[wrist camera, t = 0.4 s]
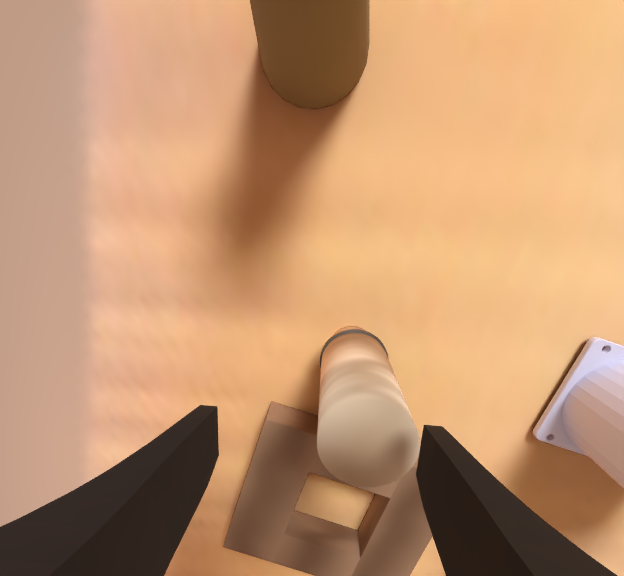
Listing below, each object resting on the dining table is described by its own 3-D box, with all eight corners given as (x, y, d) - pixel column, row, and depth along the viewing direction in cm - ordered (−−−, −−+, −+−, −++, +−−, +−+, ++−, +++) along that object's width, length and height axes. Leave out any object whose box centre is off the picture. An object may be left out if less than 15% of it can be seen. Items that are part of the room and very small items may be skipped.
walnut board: (451, 459, 22) (462, 482, 20) (390, 570, 25) (395, 600, 23) (271, 401, 22) (265, 419, 20) (231, 520, 25) (222, 546, 23)
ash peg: (391, 329, 20) (439, 418, 11) (369, 381, 21) (397, 501, 12) (332, 310, 20) (335, 384, 11) (313, 363, 21) (301, 470, 12)
